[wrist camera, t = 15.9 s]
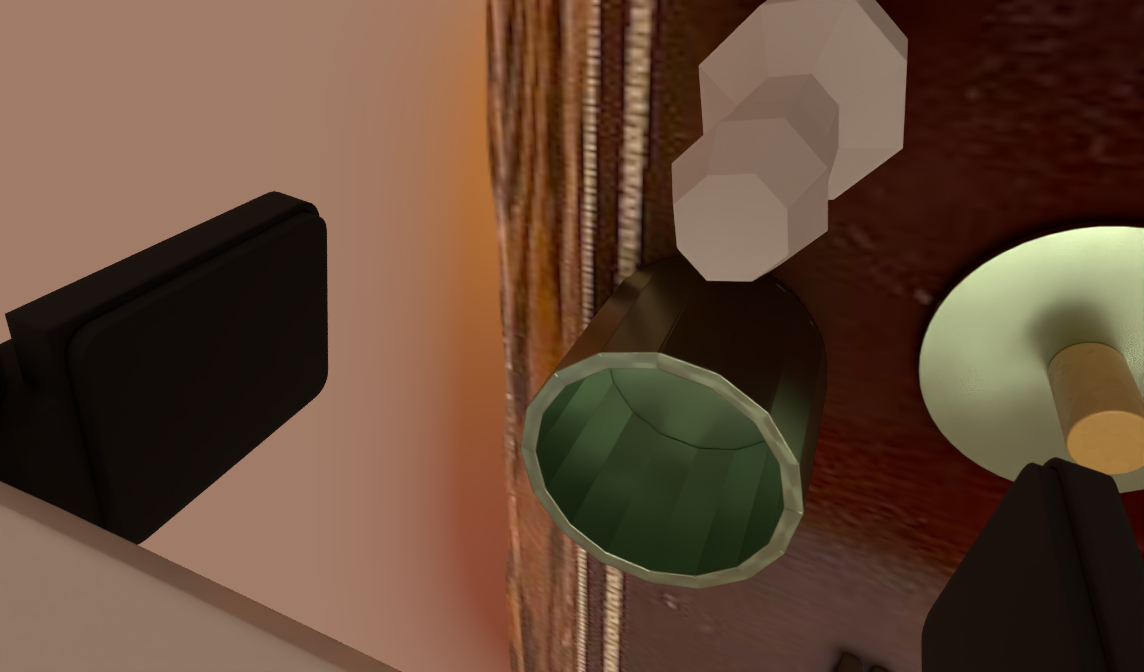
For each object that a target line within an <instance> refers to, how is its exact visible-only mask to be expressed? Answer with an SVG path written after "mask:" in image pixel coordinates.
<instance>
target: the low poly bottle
mask: <svg viewBox="0 0 1144 672" xmlns="http://www.w3.org/2000/svg"><path fill="white" fill-rule="evenodd" d="M907 48H908V39H907V38H906V36H905V35H904V34H903V33H902V32H901V30H900V29H899V28H898V27H897V26H896V24H895V23H894V22H893V21H892V20H891V18H890V17H889V16H888V15H887V14H886V12H885V11H884V10H883V9H882V8H881V6H880V5H879V4H878V3H877V2H876V0H767V1H766V2H764V3H763V4H762V5H760V6H759V7H758V8H757V9H756V10H755V11H754V12H753V13H752V14H751V15H750V16H749V17H748V18H747V19H746V20H745V21H744V22H743V23H742V24H741V25H740V26H739V27H738V28H737V29H736V30H735V31H734V32H733V33H732V34H731V35H730V36H729V37H728V38H727V39H726V40H725V41H724V42H723V43H721V44H720V45H719V46H718V47H717V48H716V49H715V50H714V51H713V52H712V53H711V54H710V55H709V56H708V57H707V58H706V59H705V60H704V61H703V62H702V63H701V64H700V65H699V77H700V91H701V106H702V120H703V134H704V135H703V136H702V137H701V138H700V139H699V140H697V141H696V142H695V143H694V144H693V145H692V146H691V147H690V148H689V149H687V150H686V151H685V152H684V153H683V154H682V155H681V156H680V157H679V158H678V159H676V160H675V161H674V162H673V163H672V186H673V209H674V220H675V231H676V242H677V248H678V250H679V251H680V252H681V253H682V254H683V255H684V256H685V257H686V258H687V259H688V261H689V262H690V263H691V264H692V265H693V266H694V267H695V268H696V269H697V270H698V272H699V273H700V274H701V275H702V276H703V277H704V278H705V279H706V280H707V281H754V280H755V279H757V278H759V277H760V276H762V275H764V274H766V273H767V272H769V271H771V270H772V269H774V268H776V267H778V266H779V265H780V264H782V263H783V262H784V261H786V260H787V259H789V258H790V257H791V256H793V255H794V254H796V253H797V252H798V251H800V250H801V249H803V248H804V247H805V246H807V245H808V244H810V243H811V242H812V241H814V240H815V239H817V238H818V237H819V236H821V235H822V234H824V233H825V232H826V231H828V200H832V199H835V198H836V197H838V196H839V195H840V194H842V193H843V192H844V191H846V190H847V189H848V188H850V187H851V186H852V185H854V184H855V183H857V182H858V181H859V180H861V179H862V178H863V177H865V176H866V175H867V174H869V173H870V172H871V171H873V170H874V169H875V168H877V167H878V166H879V165H881V164H882V163H883V162H885V161H886V160H888V159H889V158H890V157H892V156H893V155H894V154H896V153H897V152H898V151H900V150H901V149H902V148H903V133H904V116H905V93H906V71H907Z"/></svg>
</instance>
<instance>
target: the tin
mask: <svg viewBox="0 0 1144 672" xmlns="http://www.w3.org/2000/svg"><path fill="white" fill-rule="evenodd" d="M826 369H827V361H826V355H825V348H824V345H823V341H822V338H821V335H820V332H819V330H818V328H817V326H816V324H815V322H814V320H813V318H812V317H811V315H810V314H809V312H808V311H807V309H806V308H805V306H804V305H803V304H802V303H801V302H800V301H799V299H798V298H797V297H796V296H795V295H794V294H793V293H792V292H791V291H790V290H789V289H787V288H786V287H785V286H784V285H783V284H782V283H780V282H779V281H778V280H776V279H775V278H773V277H772V276H770V275H769V274H767V273H766V274H764V275H762V276H760V277H759V278H757V279H755V280H754V281H707V280H706V279H705V278H704V277H703V276H702V275H701V274H700V273H699V272H698V270H697V269H696V268H695V267H694V266H693V265H692V264H691V263H690V262H689V261H688V259H687V258H686V257H685V256H684V255H680V256H673V257H669V258H665V259H662V260H659V261H656V262H654V263H651V264H649V265H646V266H645V267H643V268H641V269H640V270H638V271H636V272H635V273H633V274H632V275H631V276H629V277H627V278H625V279H624V280H623V282H622V283H621V284H620V285H619V287H618V288H617V289H616V290H615V291H614V293H613V294H612V295H611V297H610V298H609V299H608V300H607V302H606V303H605V304H604V305H603V307H602V308H601V309H600V310H599V312H598V313H597V314H596V316H595V317H594V318H593V320H592V321H591V322H590V324H589V325H588V326H587V328H586V329H585V330H584V331H583V333H582V334H581V335H580V337H579V338H578V339H577V341H576V342H575V343H574V345H573V346H572V347H571V349H570V350H569V351H568V353H567V354H566V355H565V356H564V358H563V359H562V360H561V362H560V363H559V364H558V366H557V367H556V368H555V370H554V371H553V372H552V374H551V375H550V376H549V378H548V379H547V380H546V381H545V383H544V384H543V385H542V387H541V388H540V389H539V391H538V392H537V393H536V395H535V396H534V397H533V399H532V400H531V401H530V403H529V404H528V406H527V410H526V416H525V422H524V428H523V433H522V439H521V445H520V447H521V452H522V455H523V459H524V463H525V466H526V470H527V473H528V477H529V480H530V484H531V488H532V490H533V493H534V494H535V495H536V497H537V498H538V500H539V501H540V502H541V504H542V505H543V507H544V508H545V509H546V511H547V512H548V514H549V515H550V516H551V518H552V519H553V521H554V522H555V523H556V525H557V526H558V528H559V529H560V530H561V531H562V532H563V533H564V534H566V535H567V536H568V537H569V538H571V539H572V540H573V541H574V542H576V543H577V544H578V545H580V546H581V547H582V548H583V549H585V550H586V551H587V552H589V553H590V554H591V555H592V556H594V557H595V558H596V559H597V560H599V561H600V562H601V561H602V562H603V563H605V564H607V565H610V566H612V567H614V568H617V569H619V570H621V571H624V572H626V573H628V574H631V575H633V576H635V577H638V578H640V579H643V580H645V581H647V582H650V583H657V584H665V585H673V586H681V587H689V588H697V589H699V588H701V589H702V588H707V587H712V586H717V585H722V584H727V583H732V582H737V581H742V580H746V579H749V578H751V577H752V576H754V575H755V574H756V573H758V572H759V571H761V570H762V569H763V568H765V567H766V566H768V565H769V564H771V563H772V562H773V561H775V560H776V559H778V558H779V557H780V556H782V555H783V554H784V553H785V552H786V550H787V548H788V546H789V544H790V542H791V540H792V537H793V535H794V533H795V531H796V529H797V527H798V525H799V522H800V520H801V518H802V516H803V514H804V509H805V504H806V499H807V493H808V488H809V482H810V477H811V471H812V466H813V461H814V455H815V450H816V444H817V439H818V433H819V428H820V423H821V417H822V412H823V406H824V401H825V395H826V390H827V378H826Z"/></svg>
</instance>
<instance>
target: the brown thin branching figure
mask: <svg viewBox="0 0 1144 672" xmlns="http://www.w3.org/2000/svg"><path fill="white" fill-rule="evenodd" d="M837 672H862V666H861V663H860V661H859V660H858V659H856V658H855V657H853V656H850V655H844V656H843V657H842V660H841V663H840V666H839V669H838V671H837ZM871 672H886V671H885V670H883V669H881V668H877V667H876V668H873V669H872V670H871Z"/></svg>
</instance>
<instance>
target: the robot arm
mask: <svg viewBox="0 0 1144 672" xmlns="http://www.w3.org/2000/svg"><path fill="white" fill-rule="evenodd" d="M5 316H6V320H7V323H8V327H9V331H10V334H11V338H12V339H10V340H8V341H6V342H3V343H2V344H0V672H401V671H399V670H397V669H395V668H393V667H391V666H388V665H386V664H384V663H382V662H380V661H378V660H376V659H374V658H372V657H370V656H368V655H366V654H364V653H362V652H359V651H357V650H355V649H353V648H351V647H349V646H347V645H345V644H343V643H341V642H339V641H337V640H335V639H332V638H330V637H328V636H326V635H324V634H322V633H320V632H318V631H316V630H314V629H312V628H310V627H308V626H306V625H303V624H301V623H299V622H297V621H295V620H293V619H291V618H289V617H287V616H285V615H283V614H281V613H278V612H276V611H274V610H272V609H270V608H268V607H266V606H264V605H262V604H260V603H258V602H256V601H254V600H252V599H249V598H247V597H245V596H243V595H241V594H239V593H237V592H235V591H233V590H231V589H229V588H226V587H224V586H222V585H220V584H218V583H216V582H214V581H212V580H210V579H207V578H205V577H203V576H201V575H199V574H197V573H195V572H193V571H191V570H189V569H186V568H184V567H182V566H180V565H178V564H176V563H174V562H172V561H169V560H168V559H165V558H163V557H161V556H159V555H157V554H155V553H153V552H151V551H149V550H146V549H144V548H142V547H140V546H138V544H140V543H142V542H143V541H145V540H146V539H147V538H149V537H150V536H151V535H152V534H153V533H154V532H156V531H157V530H158V529H159V528H160V527H162V526H163V525H164V524H165V523H166V522H168V521H169V520H170V519H171V518H172V517H174V516H175V515H176V514H177V513H178V512H179V511H181V510H182V509H183V508H184V507H185V506H187V505H188V504H189V503H190V502H191V501H192V500H194V499H195V498H196V497H197V496H198V495H200V494H201V493H202V492H203V491H204V490H206V489H207V488H208V487H209V486H210V485H212V484H213V483H214V482H215V481H216V480H218V479H219V478H220V477H221V476H222V475H223V474H225V473H226V472H227V471H228V470H229V469H231V468H232V467H233V466H234V465H235V464H237V463H238V462H239V461H240V460H241V459H243V458H244V457H245V456H246V455H247V454H248V453H250V452H251V451H252V450H253V449H254V448H256V447H257V446H258V445H259V444H260V443H262V442H263V441H264V440H265V439H266V438H268V437H269V436H270V435H271V434H272V433H273V432H275V430H277V429H278V428H279V427H280V426H282V425H283V424H284V423H285V422H286V421H288V420H289V419H290V418H291V417H293V416H294V415H295V414H296V413H297V412H298V411H300V410H301V409H302V408H303V407H304V406H306V405H307V404H308V403H309V402H310V401H312V400H313V399H314V398H315V397H316V396H317V395H318V394H319V393H320V392H321V390H322V389H323V387H324V385H325V383H326V380H327V376H328V322H327V321H328V317H327V316H328V312H327V228H326V223H325V221H324V220H323V219H322V218H321V217H319V213H318V210H317V208H316V207H315V206H314V205H313V204H312V203H309V202H306V201H303V200H300V199H297V198H294V197H292V196H288V195H286V194H283V193H280V192H275V191H273V192H269V193H267V194H264V195H262V196H260V197H258V198H256V199H253V200H251V201H249V202H247V203H245V204H242V205H240V206H238V207H236V208H234V209H232V210H229V211H227V212H225V213H223V214H221V215H219V216H216V217H214V218H212V219H210V220H208V221H206V222H203V223H201V224H199V225H197V226H195V227H193V228H190V229H188V230H186V231H184V232H182V233H180V234H177V235H175V236H173V237H171V238H169V239H167V240H164V241H162V242H160V243H158V244H156V245H153V246H151V247H149V248H147V249H145V250H143V251H141V252H138V253H136V254H134V255H132V256H130V257H128V258H125V259H123V260H121V261H119V262H117V263H115V264H112V265H110V266H108V267H106V268H104V269H102V270H99V271H97V272H95V273H93V274H91V275H88V276H86V277H84V278H82V279H80V280H77V281H76V282H74V283H71V284H69V285H67V286H64V287H62V288H60V289H58V290H56V291H54V292H51V293H49V294H47V295H45V296H43V297H41V298H38V299H36V300H34V301H32V302H30V303H28V304H25V305H23V306H21V307H19V308H17V309H15V310H13V311H11V312H8V313H6V314H5ZM921 644H922V672H1144V562H1143V559H1142V557H1141V554H1140V551H1139V548H1138V545H1137V542H1136V539H1135V536H1134V534H1133V531H1132V528H1131V525H1130V522H1129V519H1128V516H1127V513H1126V511H1125V508H1124V505H1123V502H1122V499H1121V496H1120V493H1119V490H1118V488H1117V485H1116V482H1115V481H1114V479H1113V477H1111V476H1109V475H1107V474H1105V473H1102V472H1099V471H1096V470H1093V469H1090V468H1087V467H1084V466H1081V465H1078V464H1075V463H1072V462H1069V461H1066V460H1064V459H1061V458H1058V457H1054V458H1051V459H1049V460H1048V461H1047V462H1045V464H1044V465H1043V466H1042V465H1039V464H1036V463H1033V462H1032V463H1028V464H1027V465H1026V466H1025V467H1024V468H1023V469H1022V470H1021V472H1020V473H1019V475H1018V476H1017V478H1016V479H1015V481H1014V482H1013V484H1012V485H1011V487H1010V489H1009V490H1008V492H1007V493H1006V495H1005V496H1004V498H1003V499H1002V501H1001V502H1000V504H999V505H998V507H997V508H996V510H995V512H994V513H993V515H992V516H991V518H990V519H989V521H988V522H987V524H986V525H985V527H984V528H983V530H982V531H981V533H980V534H979V536H978V538H977V539H976V541H975V542H974V544H973V545H972V547H971V548H970V550H969V551H968V553H967V554H966V556H965V557H964V559H963V560H962V562H961V564H960V565H959V567H958V568H957V570H956V571H955V573H954V574H953V576H952V577H951V579H950V580H949V582H948V583H947V585H946V586H945V588H944V590H943V591H942V593H941V594H940V596H939V597H938V599H937V600H936V602H935V603H934V605H933V606H932V608H931V610H930V611H929V613H928V615H927V618H926V620H925V624H924V627H923V632H922V642H921Z"/></svg>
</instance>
